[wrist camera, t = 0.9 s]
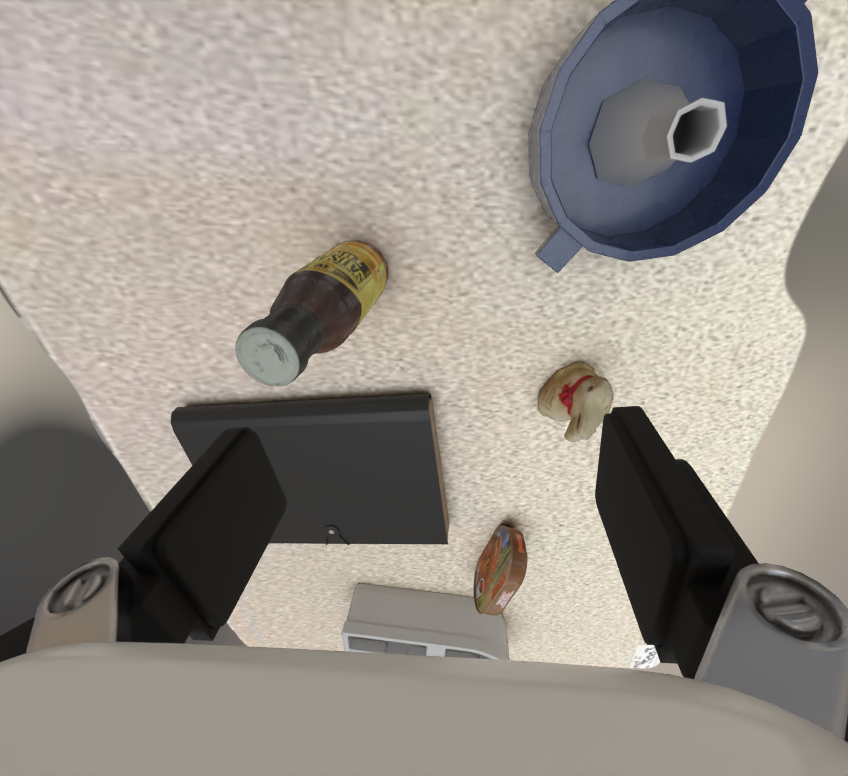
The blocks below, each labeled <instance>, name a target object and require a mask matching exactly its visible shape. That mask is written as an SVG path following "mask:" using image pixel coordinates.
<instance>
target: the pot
mask: <svg viewBox="0 0 848 776" xmlns="http://www.w3.org/2000/svg"><path fill="white" fill-rule="evenodd" d="M806 1H807V0H615V1H614V2H612V3H611V4H610V5H608V6H607V7H606V8H605V9H603V10H602V11H601V12H599V14H598V15H597V16H596V17H595V18H594V19H593V20H592V21H591V22H590V23H589V24H588V25H587V26H586V27H585V28H584V29H583V30H582V31H581V32H580V33H579V35H578V36H577V37H576V38H575V39H574V41H573V42H572V44H571V45H570V47H569V48H568V49H567V51H566V52H565V54H564V55H563V57H562V58H561V59H560V61H559V62H558V64H557V65H556V67H555V68H554V70H553V71H552V73H551V74H550V75H549V77H548V78H547V80H546V81H545V83H544V85H543V88H542V92H541V95H540V98H539V101H538V104H537V106H536V109H535V113H534V117H533V121H532V124H531V127H530V130H529V165H530V178H531V182H532V184H533V186H534V189H535V191H536V194H537V196H538V198H539V200H540V202H541V204H542V207H543V209H544V211H545V213H546V215H547V216H549V217H550V218H551V219H552V220H553V221H554V222H555V223H557V224H558V226H557V228H556V229H555V230H554V231H553V232H552V233H551V235H550V236H549V237H548V238H547V239H546V240H545V242H544V243H543V244H542V245H541V246H540V248H539V249H538V250H537V251H536V252H535V254H536V256H537V257H539V258H540V259H541V260H542V261H543V262H545V263H546V264H547V265H548V266H550V267H551V268H552V269H553V270H554V271H556V272H557V273H558V272H559V271H560V270H561V269H562V268H563V267H564V266H565V265H566V264H567V263H568V262H569V260H570V259H571V258H572V257H573V256H574V255H575V254H576V253H577V252H578V251H579V249H580V248H581V247H582V246H583V247H584V248H586V249H587V250H588V251H590V252H593V253H597V254H601V255H605V256H609V257H613V258H617V259H620V260H624V261H628V262H629V261H637V260H644V259H651V258H658V257H666V256H673V255H676V254H678V253H680V252H682V251H684V250H686V249H688V248H690V247H692V246H694V245H696V244H698V243H700V242H702V241H704V240H706V239H708V238H710V237H712V236H714V235H716V234H718V233H720V232H722V231H724V230H725V229H726V228H727V227H728V226H729V225H730V224H731V223H732V222H734V221H735V220H736V219H737V218H738V217H739V216H740V215H741V214H742V213H743V212H745V211H746V210H747V209H748V208H749V207H750V206H751V205H752V204H753V203H754V202H755V201H757V200H758V199H759V198H760V197H761V196H762V195H763V194H764V193H765V192H766V191H767V190H768V188H769V187H770V185H771V183H772V182H773V180H774V179H775V177H776V176H777V174H778V172H779V171H780V169H781V168H782V166H783V164H784V163H785V161H786V160H787V158H788V157H789V155H790V153H791V152H792V150H793V149H794V147H795V145H796V144H797V142H798V141H799V139H800V136H801V135H802V131H803V127H804V124H805V120H806V116H807V113H808V109H809V105H810V102H811V98H812V94H813V91H814V87H815V83H816V80H817V76H818V66H817V58H816V50H815V41H814V33H813V25H812V16H811V12H810V11H809V10H808V8H807V7H806V6H805V4H804V3H805V2H806ZM642 79H646V80H651V81H656V82H661V83H665V84H670V85H675V86H680V87H681V89H682V90H683V93H684V95H685V97H686V99H687V101H688V102H689V104H690V103H692V102H694V101H696V100H698V99H700V98H705V99H710V100H715V101H720V102H724V104H725V113H726V123H727V127H726V129H725V131H724V133H723V135H722V137H721V139H720V141H719V143H718V145H717V147H716V149H715V151H714V152H712V153H710V154H708V155H706V156H704V157H702V158H700V159H698V160H695V161H693V162H691V163H688V162H684V161H679V160H675V161H674V163H673V164H672V165H671V166H670V167H669V168H668V169H666V170H664V171H662V172H660V173H658V174H656V175H654V176H652V177H650V178H647V179H645V180H643V181H641V182H639V183H637V184H635V185H633V186H627V185H622V184H617V183H612V182H608V181H603V180H598V178H597V174H596V170H595V166H594V162H593V158H592V154H591V150H590V146H589V142H590V139H591V136H592V133H593V130H594V127H595V124H596V121H597V118H598V116H599V113H600V110H601V107H602V104H603V101H604V100H606V99H608V98H609V97H611V96H613V95H615V94H617V93H618V92H620V91H622V90H624V89H626V88H627V87H629V86H631V85H633V84H635V83H636V82H638V81H640V80H642Z"/></svg>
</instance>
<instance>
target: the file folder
mask: <svg viewBox="0 0 848 776" xmlns="http://www.w3.org/2000/svg"><path fill="white" fill-rule="evenodd" d="M171 425H172V428H173V431H174V433H175V435H176V437H177V438H178V440H179V442H180V444H181V446H182V447H183V449H184V451H185V453H186V455H187V456H188V458H189V460H190V462H191V464H192V465H194V463H195V462H196V461H197V460H198V459H199V458H200V457H201V456H202V455H203V453H204V452H205V451H206V450H207V449H208V448H209V447H210V446H211V445H212V443H213V442H214V441H215V440H216V439H217V438H218V437H219V436H220V435H221V433H222V432H223V431H224V430H226V429H227V428H236V427H249V428H250V429H252V431H253V432H256V433H257V434H258V436H259V438H260V440H261V442H262V445H263V447H264V449H265V451H266V454H267V456H268V458H269V460H270V463H271V465H272V467H273V469H274V472H275V474H276V476H277V478H278V480H279V483H280V485H281V487H282V489H283V492H284V494H285V496H286V499H287V508H286V511H285V513H284V515H283V517H282V519H281V521H280V522H279V524H278V526H277V528H276V530H275V532H274V534H273V536H272V538H271V539H270V541H269V543H313V544H326V545H327V544H348V545H349V544H448V531H449V520H448V512H447V505H446V498H445V491H444V483H443V476H442V469H441V462H440V455H439V447H438V440H437V433H436V426H435V418H434V411H433V404H432V398H431V395H430V394H414V395H396V396H378V397H359V398H341V399H322V400H304V401H286V402H267V403H248V404H230V405H211V406H193V407H177V408H176V409H175V410H174V411H173V412H172V414H171Z"/></svg>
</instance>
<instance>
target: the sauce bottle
mask: <svg viewBox="0 0 848 776" xmlns="http://www.w3.org/2000/svg"><path fill="white" fill-rule="evenodd" d="M387 279H388V267H387V264H386V261H385V260H384V258H383V256H382V254H381V253H380V252H379V251H378V250H377V249H376V248H374V247H373V246H371V245H369V244H368V243H366V242H362V241H348V242H343V243H341V244H339V245H337V246H335V247H334V248H332V249H330V250H329V251H327V252H326V253H324V254H323V255H321V256H320V257H318V258H316V259H315V260H313V261H312V262H310V263H309V264H307V265H306V266H304V267H303V268H301V269H299V270H298V271H296V272H295V273H293V274H292V275H291V276H289V278H288V279H287V280H286V282H285V284H284V286H283V288H282V289H281V291H280V293H279V295H278V296H277V298H276V300H275V302H274V303H273V305H272V307H271V309H270V314H269V315H268V316H267V317H265V318H264V319H260V320H257V321H256V322H254V323H252V324H251V325H249V326H248V327H247V328H246V329H245V330H244V331H242V333H241V334H240V335H239V337H238V339H237V342H236V350H235V351H236V356H237V359H238V361H239V363H240V365H241V366H242V368H243V369H244V370H245V371H246V372H247V373H248V375H249V376H251V377H252V378H253V379H255V380H256V381H258V382H260V383H262V384H265V385H269V386H285V385H288V384H290V383H291V382H293V381H294V380H295V379H296V378H297V377H298V376H299V375H300V374H301V373H302V372H303V371H304V370H305V368H306V366H307V364H308V359H309V358H310V357H311V356H312V355H313V354H316V353H325V352H328V351H331V350H333V349H335V348H337V347H338V346H340V345H341V344H342V343H343V342H344V341H345V340H346V339H347V338H348V336H349V335H350V334H351V333H352V332H353V331H354V330H355V329H356V328H357V326H358V325H359V324H360V322H361V321H362V320H363V318H364V317H365V315H366V314H367V313H368V311H369V310H370V309H371V307H372V306H373V305H374V303H375V302H376V301H377V299H378V298H379V297H380V295H381V294H382V292H383V290H384V288H385V285H386V282H387Z"/></svg>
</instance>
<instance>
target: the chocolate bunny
mask: <svg viewBox="0 0 848 776" xmlns="http://www.w3.org/2000/svg"><path fill="white" fill-rule="evenodd" d="M612 401H613V391H612V387H611V384H610V383H609V382H608V380H607V379H605V378H603V377H600V376H598V375H597V374H595V373H594V370H593V368H592V367H590V366H589V364H586V363H584V362H578V363H577V362H576V363H573V364H571V365H570V366H568V367H565V368H562V369H560V370H558V371H557V372H556V373H555V374H554V375H553V376H552V377H551V378H549V379H548V381H547V382H546V383H545V385H544V386H543V387H542V388H541V391H540V393H539V396H538V408H539V412H540V413H541V414H542V415H543V416H547V417H549V418H551V419H553V420H556V421H567V420H570V419H571V421H570V423H569V426H568V429H567V431H566V433H565V435H564V438H565V439H566V440H568V441H570V442H576V441H579V440H588V439H589V438H590V437H591V436H592V435H593V433H595V432H596V428H597V427H598V426H599V425H600V424H601V422H603V419H604V415H605V414H608V413H609V411H610V408H611V404H612Z"/></svg>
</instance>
